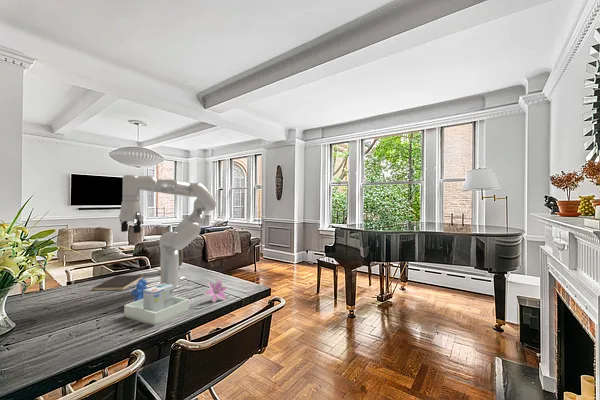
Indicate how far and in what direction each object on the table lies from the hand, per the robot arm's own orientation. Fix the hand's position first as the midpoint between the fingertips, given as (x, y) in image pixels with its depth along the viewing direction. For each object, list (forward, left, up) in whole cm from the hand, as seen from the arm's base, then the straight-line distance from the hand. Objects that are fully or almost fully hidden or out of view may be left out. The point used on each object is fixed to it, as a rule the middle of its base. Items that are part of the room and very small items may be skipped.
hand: (130, 232), depth 141 cm
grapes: (+5, +14, -34) cm, 37 cm away
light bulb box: (+8, +31, -32) cm, 46 cm away
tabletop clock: (-43, -21, -34) cm, 58 cm away
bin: (+8, +31, -33) cm, 46 cm away
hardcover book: (-11, -26, -34) cm, 44 cm away
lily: (-16, +43, -34) cm, 57 cm away
